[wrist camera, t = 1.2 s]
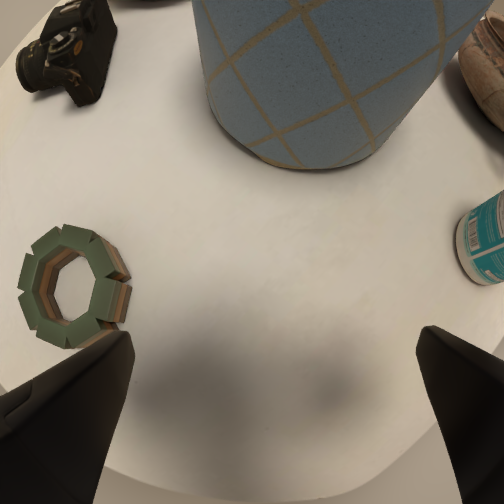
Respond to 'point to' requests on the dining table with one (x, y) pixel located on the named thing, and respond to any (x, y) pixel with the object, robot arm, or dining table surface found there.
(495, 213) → the pill bottle
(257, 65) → the planter
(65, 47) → the film camera
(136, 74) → the dining table surface
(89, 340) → the ring stack
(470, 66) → the cooking pot
